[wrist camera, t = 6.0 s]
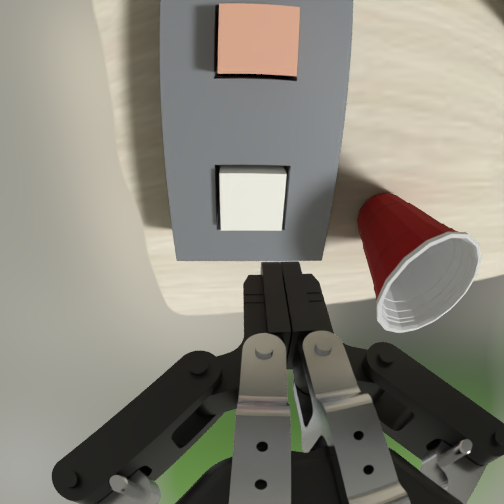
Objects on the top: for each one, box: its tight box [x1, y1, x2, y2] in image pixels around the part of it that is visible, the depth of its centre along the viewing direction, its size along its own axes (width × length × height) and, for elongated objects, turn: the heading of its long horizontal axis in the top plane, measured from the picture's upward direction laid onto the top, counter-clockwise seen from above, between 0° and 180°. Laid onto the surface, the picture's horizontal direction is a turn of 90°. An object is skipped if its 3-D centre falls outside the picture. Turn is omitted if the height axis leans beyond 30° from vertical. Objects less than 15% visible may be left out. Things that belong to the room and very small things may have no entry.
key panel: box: [160, 0, 353, 261], centre depth 21 cm, size 13×24×5 cm, turn 178°
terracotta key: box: [218, 3, 300, 76], centre depth 16 cm, size 5×5×4 cm
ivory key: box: [219, 165, 287, 231], centre depth 24 cm, size 5×5×4 cm
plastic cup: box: [358, 193, 481, 333], centre depth 25 cm, size 11×11×12 cm
